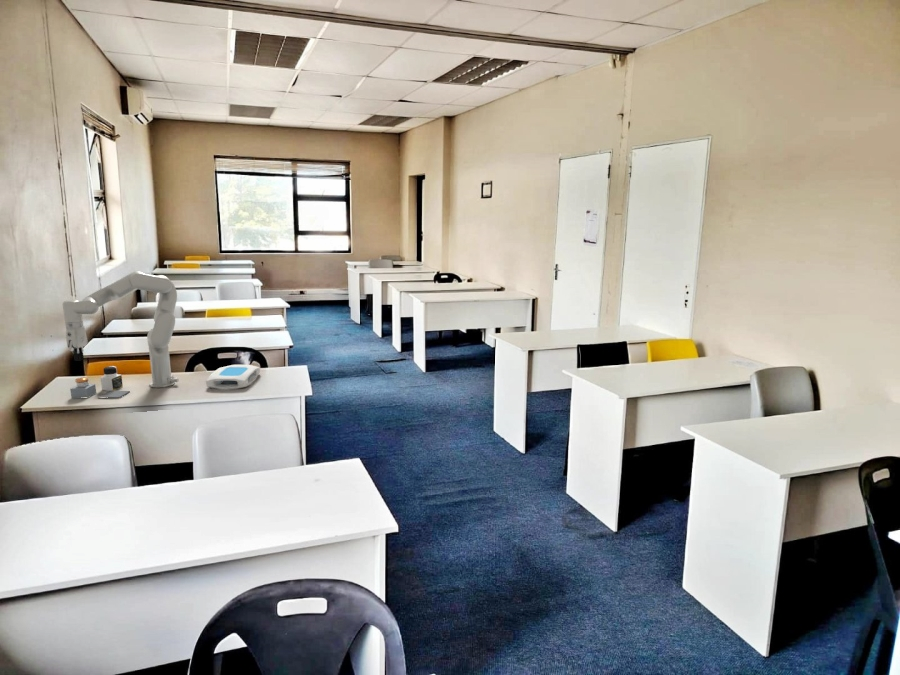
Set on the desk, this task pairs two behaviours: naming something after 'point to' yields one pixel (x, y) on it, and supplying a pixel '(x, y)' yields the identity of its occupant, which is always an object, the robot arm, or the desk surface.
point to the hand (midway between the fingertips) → (79, 359)
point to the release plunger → (82, 382)
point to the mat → (114, 394)
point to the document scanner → (233, 376)
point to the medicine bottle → (111, 379)
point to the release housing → (83, 391)
